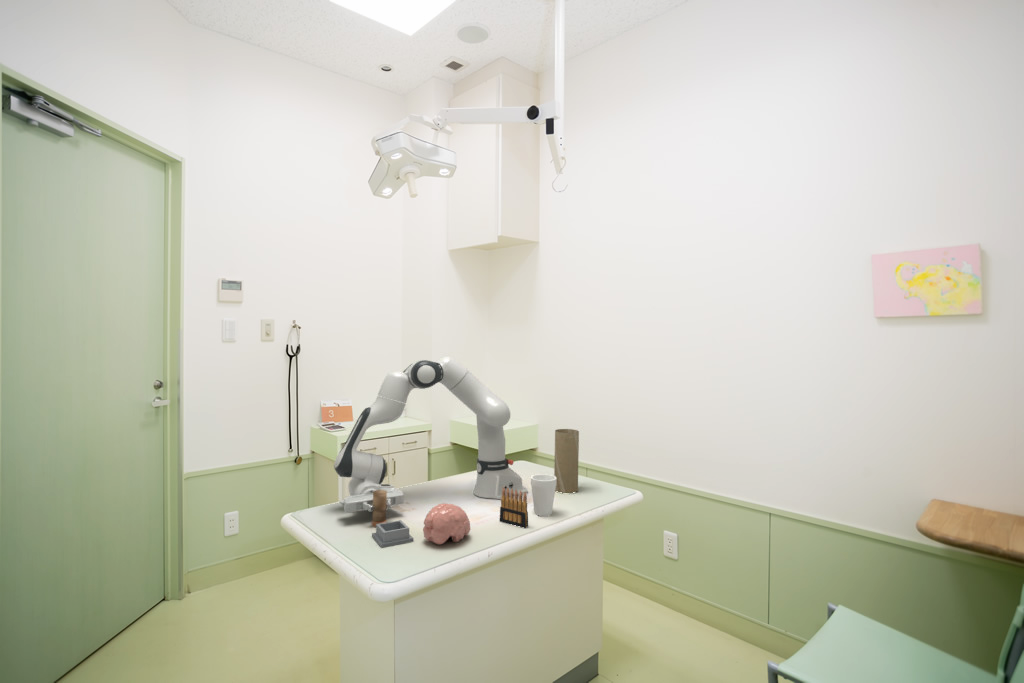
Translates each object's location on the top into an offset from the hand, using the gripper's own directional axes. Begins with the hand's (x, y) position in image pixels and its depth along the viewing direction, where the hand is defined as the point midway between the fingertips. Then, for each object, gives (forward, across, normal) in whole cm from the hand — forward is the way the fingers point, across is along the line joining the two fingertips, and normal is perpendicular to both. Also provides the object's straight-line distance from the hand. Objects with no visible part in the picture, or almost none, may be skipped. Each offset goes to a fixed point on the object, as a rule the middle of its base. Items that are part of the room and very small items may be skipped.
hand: (380, 507), depth 168 cm
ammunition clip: (+20, +40, +6) cm, 45 cm away
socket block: (+13, 0, +6) cm, 14 cm away
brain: (+22, +15, +6) cm, 27 cm away
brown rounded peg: (-1, 0, +6) cm, 6 cm away
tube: (-3, +80, +6) cm, 80 cm away
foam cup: (+16, +55, +6) cm, 58 cm away
